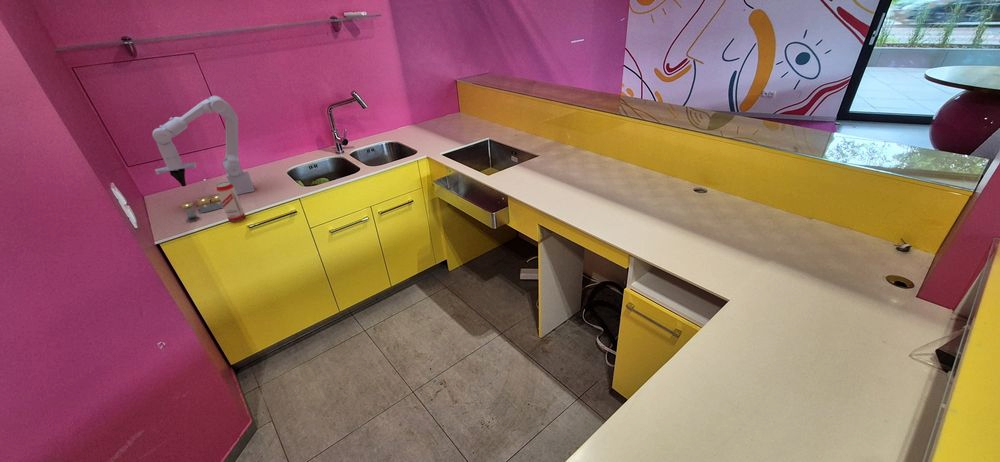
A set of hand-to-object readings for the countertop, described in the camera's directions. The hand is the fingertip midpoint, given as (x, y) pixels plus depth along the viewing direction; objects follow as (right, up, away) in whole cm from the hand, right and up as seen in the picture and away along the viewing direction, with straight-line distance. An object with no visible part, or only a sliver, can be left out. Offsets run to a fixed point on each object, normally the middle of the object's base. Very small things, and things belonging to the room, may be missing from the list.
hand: (184, 185), depth 187 cm
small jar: (+10, -15, -9) cm, 20 cm away
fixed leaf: (+9, -7, +5) cm, 13 cm away
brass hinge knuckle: (+12, -9, +1) cm, 15 cm away
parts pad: (+10, -15, -9) cm, 20 cm away
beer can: (+30, -15, -10) cm, 35 cm away
